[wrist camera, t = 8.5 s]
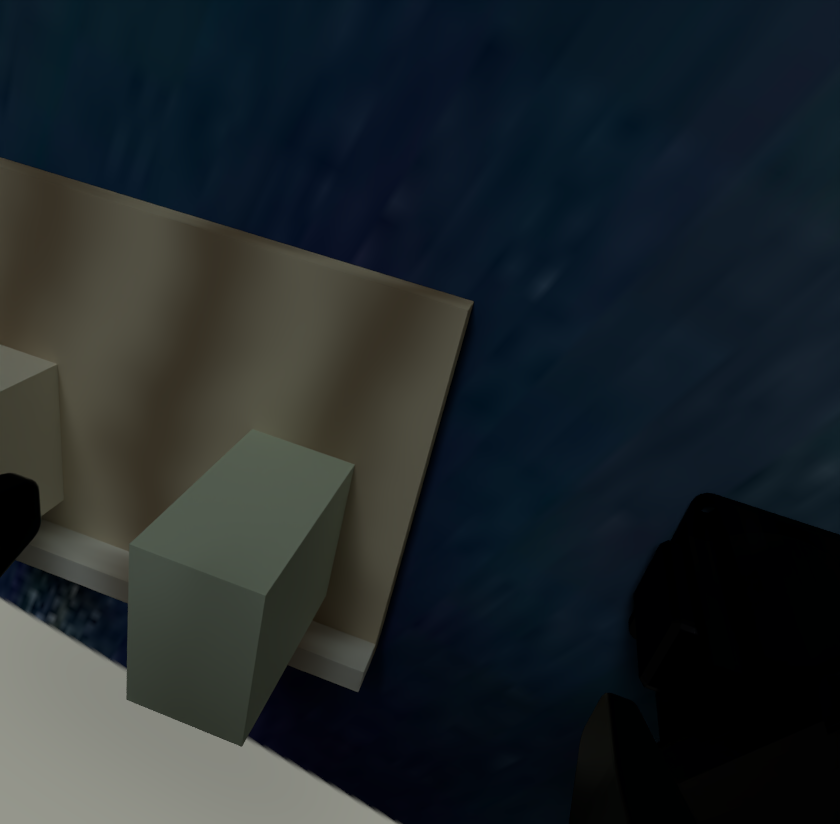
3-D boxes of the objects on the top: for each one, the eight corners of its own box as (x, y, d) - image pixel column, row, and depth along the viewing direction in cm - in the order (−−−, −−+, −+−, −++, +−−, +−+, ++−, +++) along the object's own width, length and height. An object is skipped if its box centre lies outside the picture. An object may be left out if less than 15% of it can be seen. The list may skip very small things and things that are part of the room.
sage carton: (354, 464, 23) (265, 595, 17) (325, 598, 26) (241, 749, 20) (252, 428, 23) (129, 544, 17) (235, 564, 27) (126, 702, 20)
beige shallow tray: (473, 301, 20) (458, 325, 18) (376, 649, 28) (357, 695, 26) (-43, 144, 23) (-112, 148, 20) (-3, 506, 30) (-50, 538, 28)
